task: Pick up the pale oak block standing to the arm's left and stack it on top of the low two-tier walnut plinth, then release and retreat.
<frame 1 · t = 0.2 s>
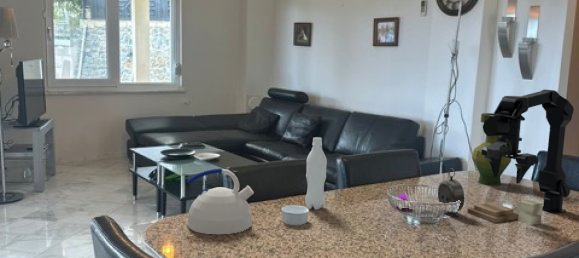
hand: (506, 180, 181), 14 cm above the table, fingers open, 9 cm apart
plinth: (493, 215, 188), on the table
ramekin: (294, 222, 175), on the table
water bottle: (314, 208, 191), on the table
kettle: (220, 225, 171), on the table
alarm clock: (448, 214, 189), on the table
crystal: (401, 208, 194), on the table
block: (529, 222, 182), on the table
vase: (489, 183, 236), on the table
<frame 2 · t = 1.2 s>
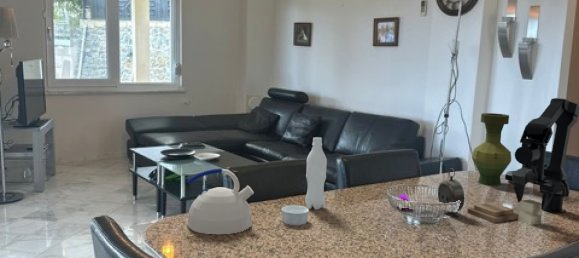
hand: (530, 205, 181), 6 cm above the table, fingers open, 9 cm apart
nothing on the table moved.
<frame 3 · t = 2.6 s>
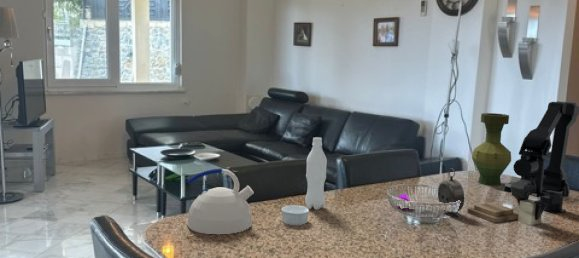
hand: (529, 217, 182), 2 cm above the table, fingers closed on block, 5 cm apart
block: (529, 222, 182), on the table, touching gripper
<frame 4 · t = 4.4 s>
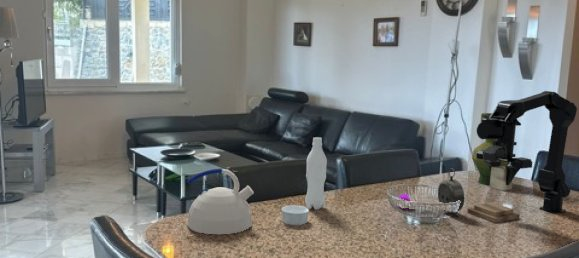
hand: (500, 183, 185), 12 cm above the table, fingers closed on block, 5 cm apart
block: (500, 187, 185), point 10 cm above the table, touching gripper
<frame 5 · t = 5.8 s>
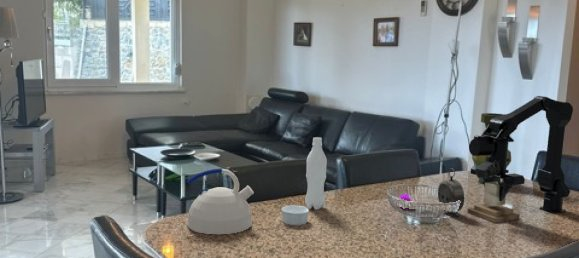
hand: (494, 199, 187), 6 cm above the table, fingers closed on block, 5 cm apart
block: (494, 203, 187), point 4 cm above the table, touching gripper
when the fingers open (6 cm above the table, at t = 6.3 s): block drops 1 cm, resting on plinth.
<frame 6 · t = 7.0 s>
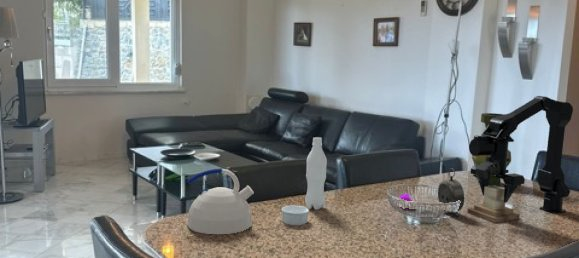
hand: (494, 198, 187), 6 cm above the table, fingers open, 9 cm apart
block: (493, 207, 187), point 3 cm above the table, touching plinth
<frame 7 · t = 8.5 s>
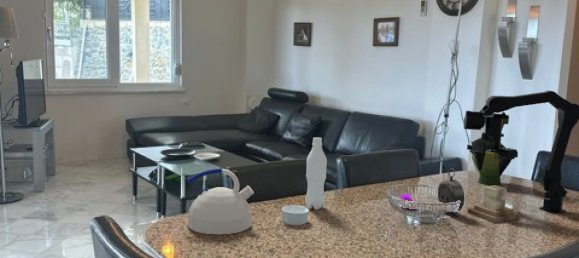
hand: (489, 172, 198), 12 cm above the table, fingers open, 9 cm apart
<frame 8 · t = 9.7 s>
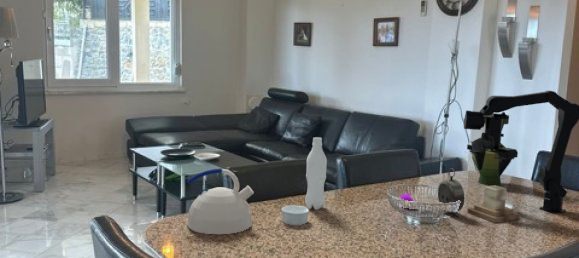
hand: (489, 172, 198), 13 cm above the table, fingers open, 9 cm apart
at the end: block inside the target area on the plinth (0.0 cm from its centre), point 3.0 cm above the plinth's base; block tilted 0°; the gripper is holding nothing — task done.
